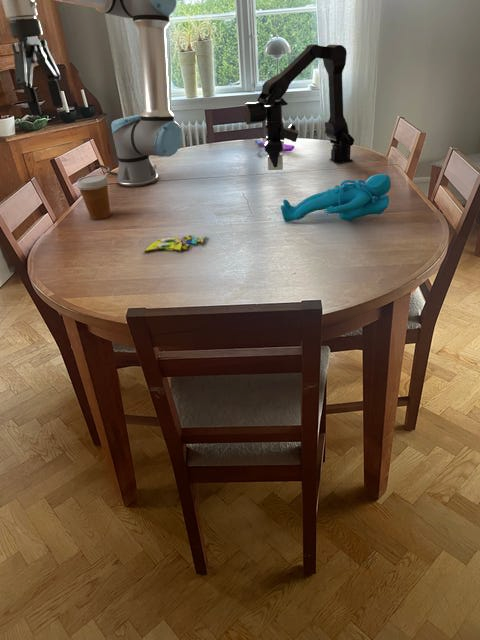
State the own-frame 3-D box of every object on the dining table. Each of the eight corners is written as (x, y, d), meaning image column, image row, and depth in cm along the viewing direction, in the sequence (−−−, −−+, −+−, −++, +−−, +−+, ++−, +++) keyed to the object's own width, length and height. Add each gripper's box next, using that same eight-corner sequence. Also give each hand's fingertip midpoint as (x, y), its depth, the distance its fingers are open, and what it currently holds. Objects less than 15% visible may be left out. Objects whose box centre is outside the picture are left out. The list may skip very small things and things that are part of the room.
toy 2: (284, 188, 143) (387, 162, 133) (293, 221, 149) (393, 198, 138) (276, 209, 130) (390, 181, 120) (286, 244, 135) (397, 221, 125)
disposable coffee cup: (79, 220, 152) (69, 182, 146) (97, 209, 159) (88, 173, 153) (104, 222, 149) (94, 184, 142) (121, 211, 156) (113, 174, 150)
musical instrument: (281, 159, 196) (302, 141, 209) (280, 154, 195) (302, 136, 207) (233, 159, 209) (255, 142, 221) (232, 155, 208) (255, 137, 220)
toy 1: (199, 248, 125) (143, 249, 127) (199, 251, 125) (144, 252, 127) (206, 233, 133) (154, 234, 135) (206, 236, 133) (154, 237, 136)
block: (282, 169, 175) (282, 156, 172) (268, 170, 176) (267, 156, 173) (282, 165, 179) (282, 152, 177) (269, 166, 180) (268, 153, 177)
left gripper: (11, 18, 109) (40, 118, 120) (58, 16, 129) (78, 101, 141) (-19, 21, 110) (12, 120, 121) (32, 18, 130) (54, 103, 142)
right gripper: (296, 124, 160) (297, 171, 168) (297, 113, 175) (298, 157, 183) (263, 126, 161) (265, 173, 170) (267, 115, 177) (269, 158, 185)
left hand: (48, 110), depth 131 cm, fingers open, 13 cm apart
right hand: (275, 165), depth 177 cm, fingers closed on block, 5 cm apart
